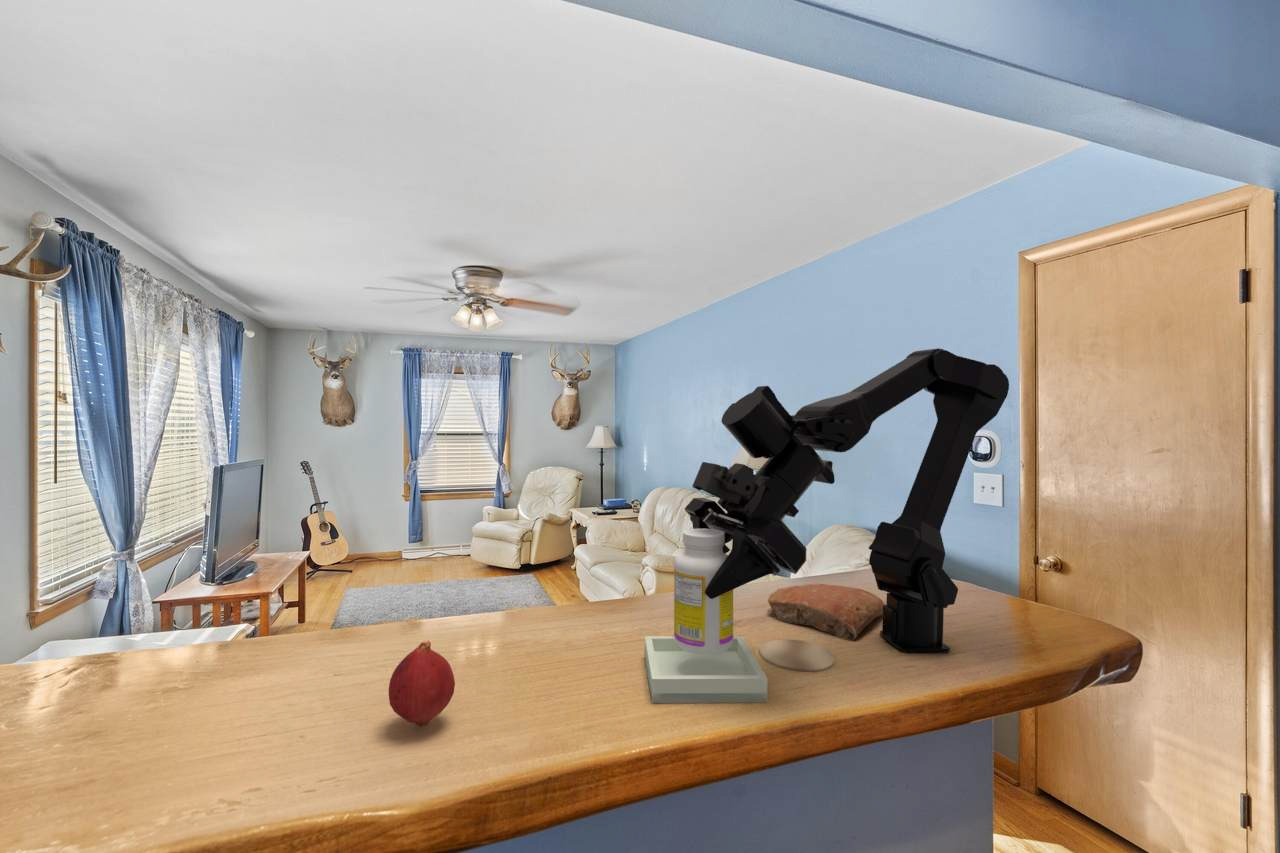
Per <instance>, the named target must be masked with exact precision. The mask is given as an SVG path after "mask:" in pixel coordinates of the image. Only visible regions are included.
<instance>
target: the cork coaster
mask: <svg viewBox="0 0 1280 853" xmlns="http://www.w3.org/2000/svg"><path fill="white" fill-rule="evenodd" d="M759 654H760V657H761V658H762V659H763V660H764V661H766V662H767V663H769V664H771V665H773V666H775V667H778V668H782V669H785V670H789V671H790V670H791V671H796V672H819V671H824V670H828V669H830V668H832V667H833V666H834V664H836V656H835V654H834V652H832V651H831V650H830V649H828V648H826V647H824V646H822V645H820V644H818V643H815V642H810V641H806V640H802V639H801V640H800V639H790V638H789V639H787V638H786V639H775V640H770V641H768V642H767V641H766V642H765V643H763V644H762V645H761V646H760V649H759Z"/></svg>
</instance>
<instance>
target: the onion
mask: <svg viewBox="0 0 1280 853" xmlns="http://www.w3.org/2000/svg"><path fill="white" fill-rule="evenodd" d="M431 645H432V644H431V642H430V640H423V641H421V642H420V643H419V644H418V645H417V647H416V648H415V649H413V650H412V651H411V652H409V653H408V654H407V655H406V656H404V658H403V659H402V660H401V661H400V662H399V663H398V665H397V666H396V667H395V669H394V670H393V672H392V675H391V677H390V678H389V684H388V699H389V700H388V701H389V706H390V707H391V708H392V711H393V712H394V714H396V715H397V716H399V718H402V719H403V720H405V721H406V722H409V723H412V724H414V725H416V726H418V727H425V726H427V725H428V724H430V722H431V721H432V720H434V719H435V718H436V717H437V716H439V715H440V714H441V713H442V712H443V711H444V709H446V708H447V706H448V705H449V704H450V702H451V700H452V698H453V695H454V693H455V685H456V682H455V676H454V672H453V669H452V667H451V664H450V663H449V662H448V660H447V659H446V658H445V657H444V656H442V655H441V654H440V653H438V652H437V651H435V650H433V649H431Z"/></svg>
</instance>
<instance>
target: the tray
mask: <svg viewBox="0 0 1280 853" xmlns="http://www.w3.org/2000/svg"><path fill="white" fill-rule="evenodd" d="M643 652H644V656H645V657H644V663H646V664H645V668H646V675H647V676H646V677H647V681H648V687H649V694H650V702H651V704H719V703H720V704H721V703H722V704H724V703H725V704H726V703H727V704H728V703H729V704H731V703H732V704H733V703H736V704H737V703H739V704H740V703H744V704H746V703H749V704H750V703H768V677H767V675H766V673H765V672H764V670H763V669H762V667H761V665H760V664H759V662H758V661H757V659H756V658H755V656H754V653H753V652H752V651H751V649H750V647H749V646H748V644H747V643H746V641H745V639H744V637H743V636H742V635H741V636H740V635H733V643H732V646H731V647H730V648H729V649H728V650H726V651H724V652H721V653H717V654H695V653H690V652H687V651H685V650H683V649H681V648H680V647H679V646H678V645H677V644H676V643H675V639H674V635H673V636H670V635H669V636H668V635H663V636H661V635H659V636H658V635H657V636H655V635H648V636H644V651H643Z"/></svg>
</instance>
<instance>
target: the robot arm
mask: <svg viewBox="0 0 1280 853" xmlns="http://www.w3.org/2000/svg"><path fill="white" fill-rule="evenodd" d="M1009 381H1010V380H1009V379H1008V376H1007V375H1006V374H1005V373H1004V371H1003V370H1002V368H1001V367H1000V366H998V365H996V364H987V363H985V362H983V361H979V360H977V359H976V360H975V359H971V358H967V357H963V356H961V355H956V354H954V353H953V352H951V351H950V350H946V349H943V348H931V349H930V348H929V349H921V350H916V351H913V352H911V353H909V354H908V355H907V356H906V358H904V359H903V360H901V361H899V362H898V363H896V364H895V365H892V366H891V367H889V368H888V369H886V370H884V371H882V372H881V373H879V374H877V375H875V377H872V378H871V379H869V380H867V381H866V382H864V383H862V384H860V385H859V386H857V387H856V388H854V389H852V390H851V391H849V392H846V393H843V394H840V395H836V396H832V397H828V398H823V399H820V400H818V401H814V402H812V403H809V404H806V405H804V406H802V407H800V408H799V409H798V410H797V412H795V414H792V415H791V414H790V413H789V411H787V409H786V408H785V407H784V406H783V405H782V403H781V402H780V401H779V399H778V397H777V396H776V394H775V393H774V391H773V390H772V388H771V387H770V385H763V386H762V385H761V386H760V385H759V386H757V387H756V388H755V389H754V390H753V391H752V392H750V393H748V394H746V395H745V396H743V397H741V398H740V399H738V400H737V401H736V402H732V403H731V404H730V405H729V406H728V407H727V409H726V410H725V411H724V412H723V415H722V416H721V424H722V425H723V426H724V427H725V428H726V430H727V431H728V432H729V433H730V435H732V436H733V438H734V439H735V440H736V441H737V443H738V444H739V445H740V446H741V447H742V448H743V449H744V450H745V451H746V452H747V454H748V455H749V456H750V457H751V458H753V459H760V458H763V459H767V460H766V461H765V462H764V464H763V465H761V467H760V468H759V469H758V470H757V472H756V473H755V474H754V468H751V466H748V465H746V464H743V463H737V462H736V463H733V465H731V466H730V467H729V468H728V467H727V466H724V465H720V464H717V463H712V462H711V463H710V462H705V461H702V463H701V464H700V467H699V469H698V472H697V473H696V477H694V481H693V483H692V488H693V489H694V490H695V489H696V490H697V491H703V492H706V493H707V494H709V495H712V496H714V497H716V498H718V501H715V500H712V499H709V498H705V497H693V498H692V499H691V501H690V502H688V504H687V505H686V506H685V507H684V512H686V513H687V514H688V515H689V520H690V522H691V523H692V529H715V530H719V531H722V532H724V535H725V543H724V546H723V547H722V548H723V553H725V554H727V553H728V552H729V553H728V554H727V555H728V556H727V558H726V559H725V561H724V562H723V564H722V565H721V567H720V568H719V570H718V571H717V572H716V574H715V575H714V577H713V578H712V580H711V581H710V583H709V585H708V586H707V588H706V590H705V594H706V595H707V596H708V597H709V598H710V599H713V598H716V597H718V596H720V595H722V594H724V593H726V592H729V591H731V590H733V591H734V590H735V589H737V588H739V587H742V586H744V585H746V584H748V583H750V582H753V581H756V580H758V579H761V578H763V577H766V576H769V575H772V574H779V573H780V571H781V570H780V568H781V569H782V570H785V571H787V572H789V573H791V574H794V575H796V574H797V573H798V572H799V571H800V570H801V568H802V567H803V565H804V564H805V563H806V562H807V547H806V546H805V545H804V544H803V543H802V541H800V540H799V538H798V537H797V536H796V534H794V533H793V531H792V530H791V529H790V528H789V527H788V526H787V525H786V524H785V523H784V521H783V519H784V518H785V517H786V516H787V517H791V518H795V517H796V516H797V514H799V512H800V510H799V509H798V508H797V507H796V504H797V502H798V501H799V500H800V499H801V497H802V496H803V495H804V494H805V492H806V491H807V490H808V489H809V487H810V486H811V485H812V484H813V483H814V482H816V483H817V482H818V483H822V484H823V483H824V484H829V485H833V484H834V483H835V481H836V480H835V473H834V471H833V461H832V460H825V459H822V457H821V456H820V455H819V453H818V452H817V451H821V452H822V451H823V452H833V453H845V452H848V451H851V450H852V449H853V448H854V447H855V446H856V445H857V444H858V443H859V442H860V441H862V439H863V438H864V437H866V436H867V435H868V434H869V432H870V430H871V427H872V425H873V423H874V422H875V421H876V420H877V419H878V418H880V416H882V415H884V414H886V413H888V412H889V411H891V410H892V409H894V408H895V407H897V406H899V405H901V403H903V402H905V401H906V400H908V399H910V398H911V397H913V396H914V395H916V394H917V393H919V392H921V391H922V390H924V391H925V392H928V393H930V394H932V395H933V400H932V404H933V407H934V411H935V415H936V419H937V420H936V424H935V427H934V430H933V432H932V434H931V437H930V440H929V442H928V444H927V447H926V450H925V452H924V456H923V458H922V460H921V463H920V466H919V468H918V471H917V473H916V476H915V479H914V481H913V484H912V487H911V490H910V492H909V494H908V497H907V499H906V502H905V505H904V506H903V507H904V508H903V510H902V513H901V514H900V516H898V517H897V519H895V520H894V521H893V522H892V523H891V522H886V521H881V522H880V523H879V524H878V526H877V529H876V532H875V533H876V534H875V536H874V539H873V541H872V542H871V544H870V545H869V546H868V549H869V550H871V551H870V553H869V554H870V555H869V559H868V564H869V566H871V571H872V573H873V575H874V579H875V582H876V587H877V589H878V590H880V591H882V592H886V600H885V601H886V603H885V605H884V606H883V615H882V624H881V626H882V629H881V630H879V635H880V636H881V637H883V638H884V639H885V640H886V641H887V642H889V643H890V644H891V645H892V646H894V647H895V648H896V649H898V650H899V651H900V652H904V653H905V652H906V653H909V652H910V653H913V652H914V653H917V652H919V653H923V652H924V653H930V652H931V653H933V652H936V653H937V652H942V653H945V652H946V653H948V652H950V651H951V648H950V646H948V645H947V644H946V643H944V619H945V618H944V616H945V615H944V614H945V612H944V610H945V609H947V608H948V607H949V606H953V605H955V602H956V599H957V596H958V592H959V588H958V586H957V585H956V584H955V583H954V581H953V580H952V579H951V578H950V576H949V575H948V574H947V573H946V571H945V570H944V569H943V566H944V561H945V557H946V551H945V546H944V542H943V537H942V532H941V530H942V526H943V524H944V521H945V518H946V516H947V512H948V511H949V507H950V505H951V503H952V500H953V497H954V494H955V491H956V489H957V486H958V484H959V480H960V478H961V475H962V473H963V470H964V467H965V466H966V462H967V459H968V457H969V454H970V452H971V448H972V446H973V443H974V441H975V437H976V436H977V433H978V432H979V431H980V430H981V429H982V428H983V427H985V426H986V425H987V424H988V423H989V422H991V421H992V420H993V419H994V418H995V417H996V416H997V415H998V413H999V412H1000V409H1001V408H1002V406H1003V404H1004V402H1005V401H1006V398H1007V397H1008V394H1009V389H1010V382H1009ZM724 510H725V511H724ZM729 542H732V543H731V544H732V545H731V547H732V548H731V549H730V548H729V547H728V546H727V545H726V544H728V543H729ZM778 566H779V567H780V568H779V567H778Z"/></svg>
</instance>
